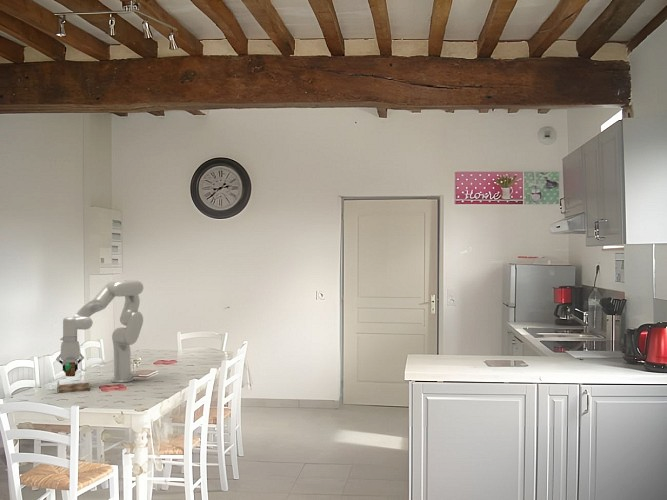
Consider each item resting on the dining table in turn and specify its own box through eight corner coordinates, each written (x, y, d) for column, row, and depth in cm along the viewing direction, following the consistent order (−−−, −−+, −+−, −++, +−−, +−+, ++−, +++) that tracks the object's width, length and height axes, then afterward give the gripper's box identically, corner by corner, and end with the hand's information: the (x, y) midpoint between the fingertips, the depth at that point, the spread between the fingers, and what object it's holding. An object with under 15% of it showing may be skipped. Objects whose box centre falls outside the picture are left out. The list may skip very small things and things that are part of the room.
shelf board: (89, 385, 404) (89, 379, 404) (90, 390, 389) (90, 384, 389) (57, 387, 398) (57, 381, 398) (57, 393, 383) (57, 386, 383)
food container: (63, 373, 397) (63, 356, 397) (75, 373, 399) (75, 355, 399) (62, 377, 385) (62, 359, 385) (74, 376, 387) (74, 358, 387)
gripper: (53, 340, 386) (53, 373, 386) (86, 339, 392) (86, 371, 392) (53, 339, 393) (53, 371, 393) (86, 337, 399) (86, 369, 399)
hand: (70, 371), depth 393 cm, fingers closed on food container, 5 cm apart
